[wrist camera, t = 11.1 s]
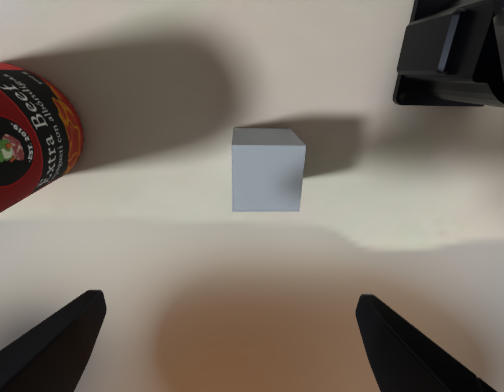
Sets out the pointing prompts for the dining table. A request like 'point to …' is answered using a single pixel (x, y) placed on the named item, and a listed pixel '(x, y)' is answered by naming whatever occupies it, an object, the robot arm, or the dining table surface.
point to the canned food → (34, 134)
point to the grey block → (266, 169)
